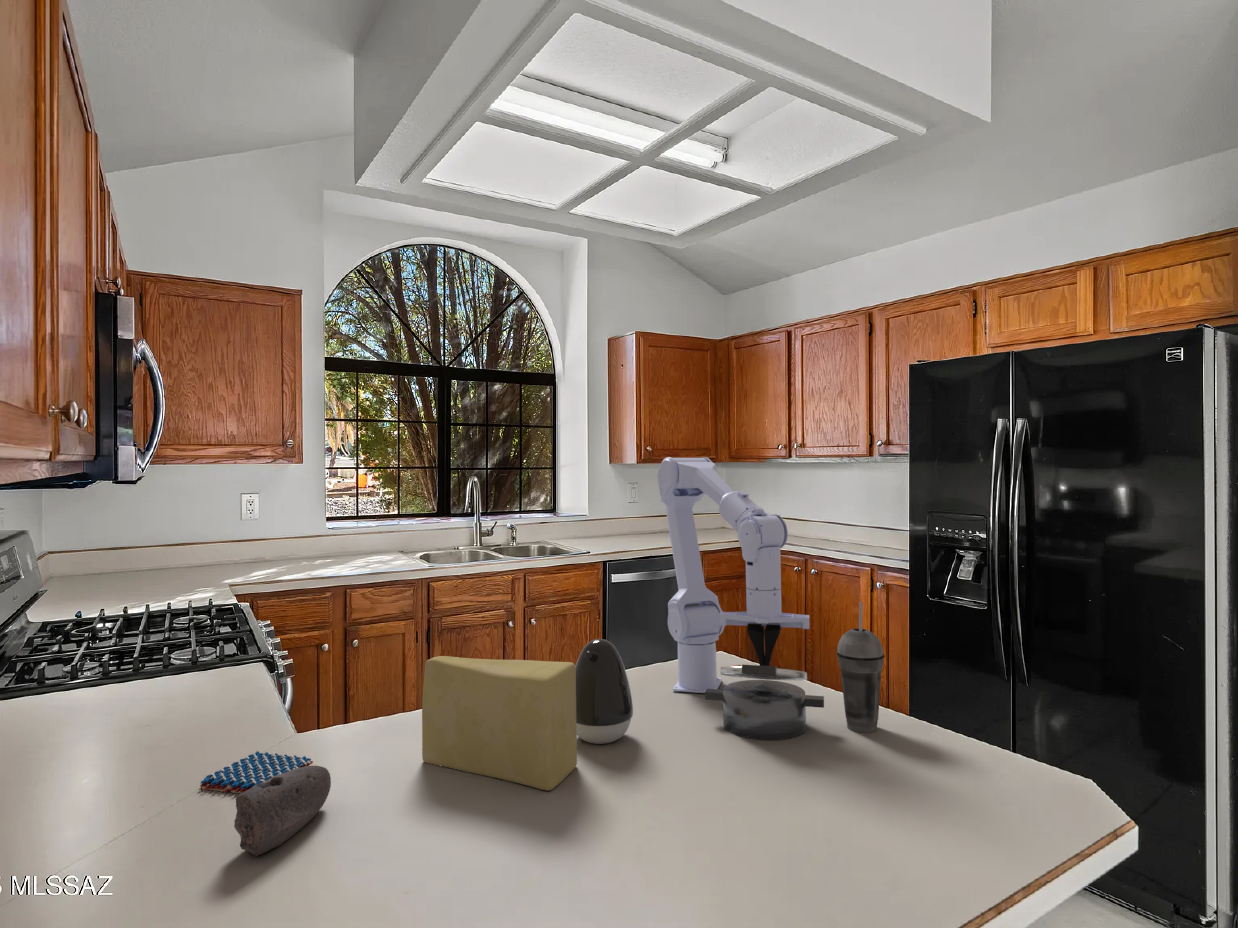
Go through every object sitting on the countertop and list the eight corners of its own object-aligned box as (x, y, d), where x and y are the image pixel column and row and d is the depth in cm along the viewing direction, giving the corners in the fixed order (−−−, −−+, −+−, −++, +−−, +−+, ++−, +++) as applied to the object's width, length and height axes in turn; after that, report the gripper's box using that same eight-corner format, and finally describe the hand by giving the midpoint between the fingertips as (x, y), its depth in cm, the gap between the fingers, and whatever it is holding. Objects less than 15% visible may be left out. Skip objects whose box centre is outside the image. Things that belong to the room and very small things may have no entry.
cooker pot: (712, 708, 124) (712, 676, 124) (824, 716, 119) (823, 683, 119) (700, 734, 111) (699, 698, 112) (824, 744, 106) (823, 707, 107)
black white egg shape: (557, 747, 107) (555, 645, 108) (580, 724, 117) (579, 630, 117) (622, 753, 104) (620, 648, 105) (641, 729, 114) (639, 633, 115)
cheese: (403, 774, 98) (402, 664, 99) (443, 748, 108) (442, 648, 108) (550, 795, 91) (548, 676, 91) (579, 766, 100) (578, 658, 100)
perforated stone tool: (311, 802, 90) (311, 746, 90) (348, 806, 89) (348, 749, 89) (216, 864, 76) (216, 797, 76) (257, 870, 74) (257, 802, 74)
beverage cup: (879, 720, 117) (876, 597, 117) (892, 736, 110) (889, 604, 110) (833, 719, 117) (831, 597, 118) (843, 735, 110) (840, 604, 111)
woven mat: (317, 769, 102) (317, 754, 102) (261, 802, 91) (261, 786, 91) (256, 762, 104) (256, 748, 104) (195, 793, 94) (195, 778, 94)
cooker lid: (726, 677, 123) (726, 666, 124) (808, 682, 120) (807, 670, 120) (713, 670, 109) (713, 658, 110) (805, 676, 106) (805, 662, 106)
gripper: (716, 590, 117) (718, 674, 117) (808, 593, 113) (810, 679, 113) (722, 584, 124) (723, 662, 124) (808, 586, 120) (810, 667, 120)
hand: (765, 670), depth 119 cm, fingers closed, pressing on cooker lid
